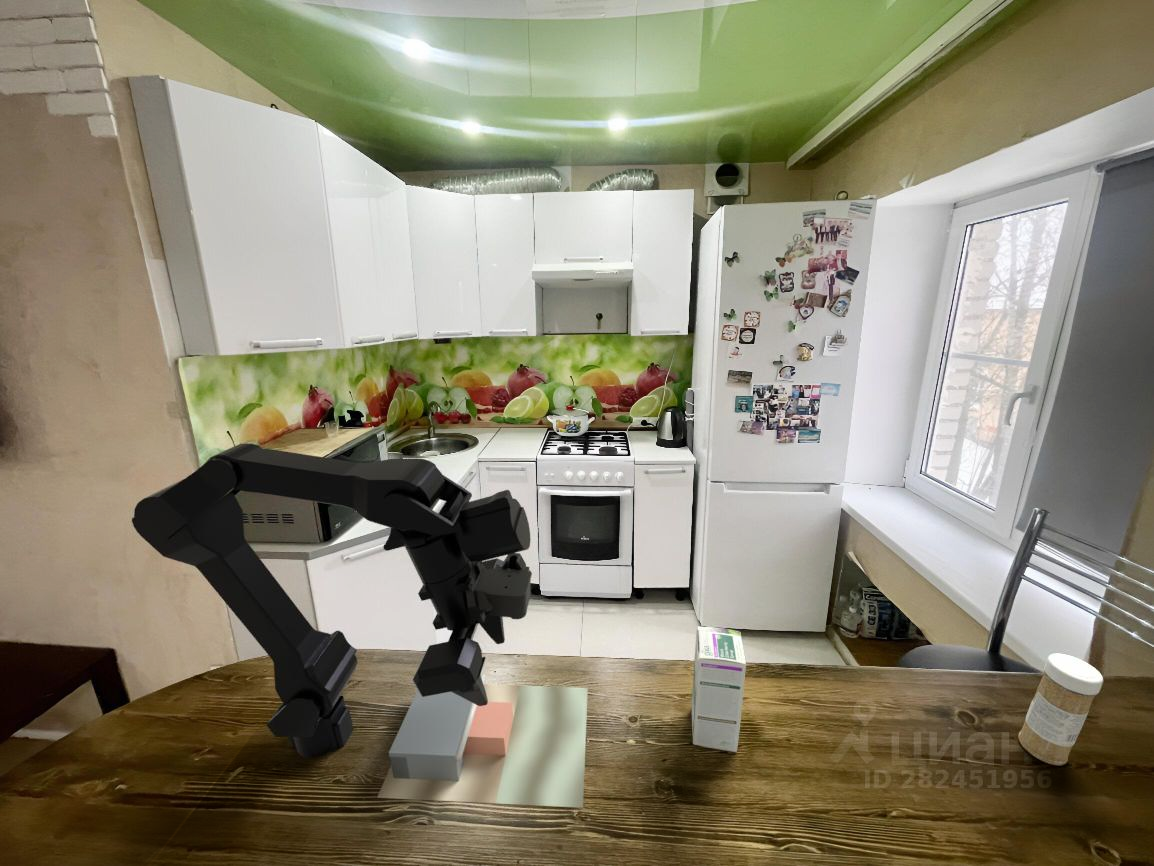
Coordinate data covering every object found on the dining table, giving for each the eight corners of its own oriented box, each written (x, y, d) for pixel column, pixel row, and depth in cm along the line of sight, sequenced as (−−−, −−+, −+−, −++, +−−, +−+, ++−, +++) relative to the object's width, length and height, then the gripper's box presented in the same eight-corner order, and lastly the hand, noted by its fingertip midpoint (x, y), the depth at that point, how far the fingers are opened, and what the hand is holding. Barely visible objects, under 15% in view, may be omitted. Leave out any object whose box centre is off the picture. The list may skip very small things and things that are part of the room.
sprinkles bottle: (1040, 731, 60) (1073, 650, 56) (1078, 766, 55) (1117, 681, 51) (1006, 733, 60) (1037, 652, 55) (1041, 768, 55) (1078, 683, 51)
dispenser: (393, 778, 55) (388, 752, 53) (429, 695, 66) (425, 672, 64) (464, 781, 54) (460, 755, 53) (488, 697, 65) (485, 674, 64)
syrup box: (738, 754, 58) (749, 664, 53) (690, 745, 59) (698, 657, 54) (732, 714, 63) (742, 629, 58) (689, 707, 64) (695, 623, 60)
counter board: (378, 803, 53) (377, 797, 53) (428, 687, 68) (427, 682, 68) (583, 813, 51) (582, 807, 51) (587, 693, 67) (587, 687, 66)
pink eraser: (428, 752, 58) (425, 734, 57) (441, 716, 62) (439, 700, 61) (505, 755, 57) (504, 738, 56) (513, 719, 62) (511, 702, 61)
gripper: (492, 610, 41) (545, 732, 46) (525, 510, 59) (561, 606, 63) (383, 633, 43) (445, 749, 47) (447, 530, 60) (488, 621, 65)
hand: (493, 671), depth 56 cm, fingers open, 9 cm apart
